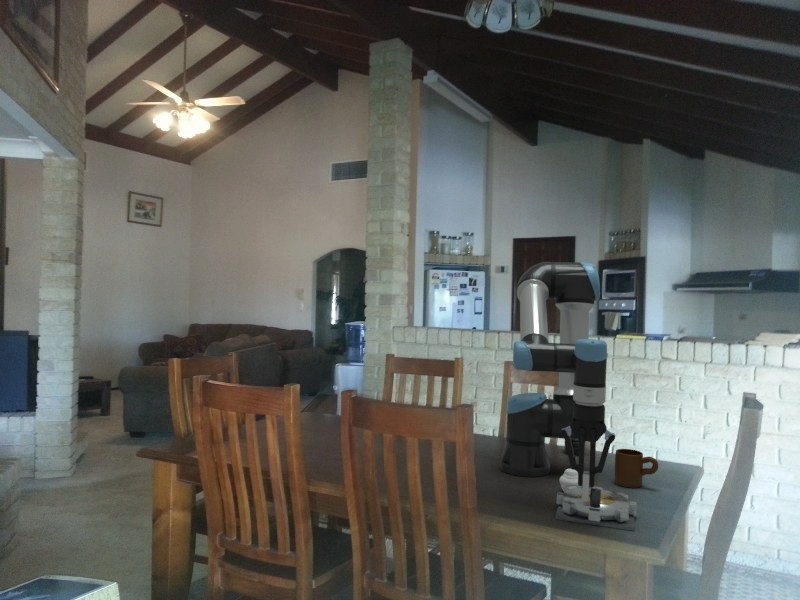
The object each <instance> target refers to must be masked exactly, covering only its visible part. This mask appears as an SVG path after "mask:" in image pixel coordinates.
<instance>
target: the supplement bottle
mask: <svg viewBox="0 0 800 600" xmlns="http://www.w3.org/2000/svg"><path fill="white" fill-rule="evenodd" d="M571 441H572V446H573V451H574V455H575V457H576V456H578V457H579V440H575V439H571ZM563 447H564V453H565V454H566V455H568V452H567V448H566V443H565V442H564V446H563Z"/></svg>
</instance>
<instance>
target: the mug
mask: <svg viewBox="0 0 800 600" xmlns="http://www.w3.org/2000/svg"><path fill="white" fill-rule="evenodd" d="M647 463H652V466H651V467H650V468H649V467H646V468H644V464H647ZM658 469H659V462H658V460H657V459H656V458H654V457H652V456H644V453H643V452H641V451H639V450H636V449H632V448H631V449H630V448H619V449H618V448H617V449H616V450H615V456H614V483H616V484H617V485H618V486H620V487H624V488H629V489H630V488H631V489H636V488H640V487H642V485H643V477H644V476H646V475H653V474H655V473H657V471H658Z"/></svg>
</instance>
